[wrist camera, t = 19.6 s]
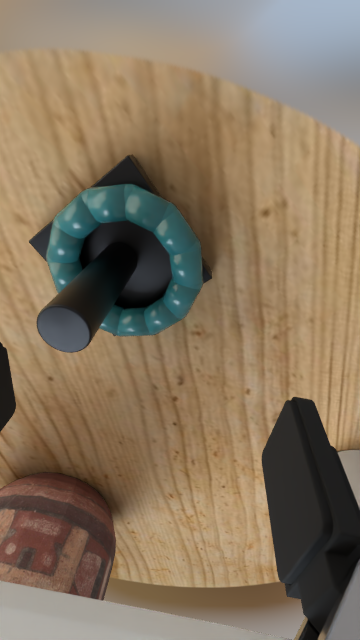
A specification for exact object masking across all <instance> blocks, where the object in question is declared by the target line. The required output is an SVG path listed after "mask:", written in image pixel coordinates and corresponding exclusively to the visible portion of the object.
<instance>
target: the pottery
mask: <svg viewBox="0 0 360 640" xmlns="http://www.w3.org/2000/svg"><path fill="white" fill-rule="evenodd" d="M115 548H116V538H115V532H114V525H113V520H112V515H111V512H110V510H109V508H108V506H107V504H106V502H105V500H104V499H103V498H102V496H101V495H100V494H99V493H98V492H97V491H96V490H95V489H94V488H92V487H91V486H90V485H88V484H86V483H84V482H82V481H81V480H79V479H77V478H73V477H70V476H66V475H63V474H59V473H48V472H44V473H37V474H32V475H29V476H26V477H24V478H21V479H18V480H16V481H14V482H12V483H10V484H8V485H6V486H4V487H3V488H1V489H0V581H4V582H10V583H15V584H20V585H25V586H30V587H35V588H41V589H46V590H51V591H56V592H61V593H66V594H72V595H77V596H82V597H87V598H92V599H97V600H102V601H103V599H104V596H105V592H106V588H107V585H108V581H109V577H110V574H111V570H112V566H113V561H114V556H115Z"/></svg>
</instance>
